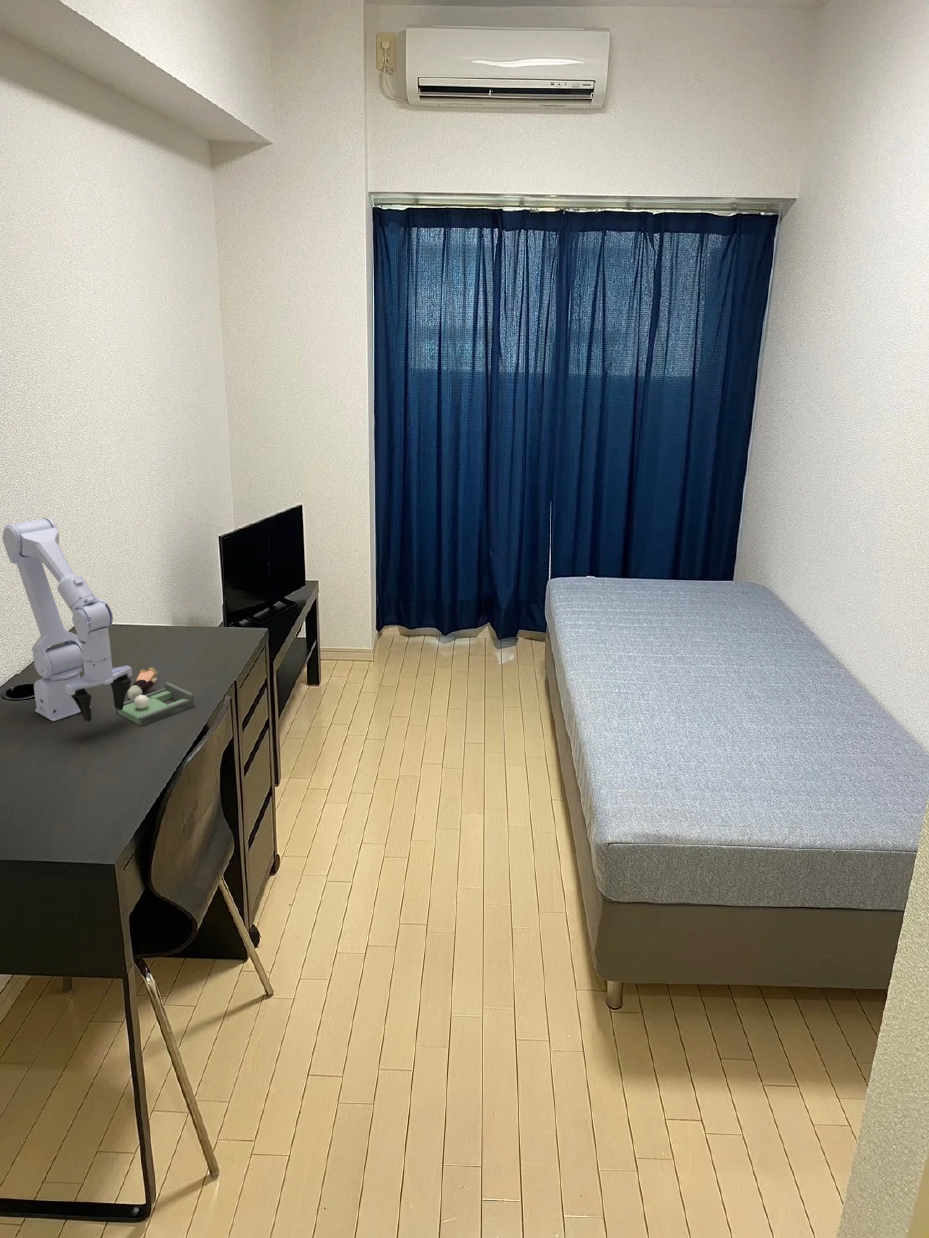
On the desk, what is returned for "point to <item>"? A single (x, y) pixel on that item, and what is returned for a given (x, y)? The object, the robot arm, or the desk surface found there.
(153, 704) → the green walled tray
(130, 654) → the desk surface
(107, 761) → the desk surface
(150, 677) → the grandmother figurine
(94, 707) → the desk surface
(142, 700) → the ball
